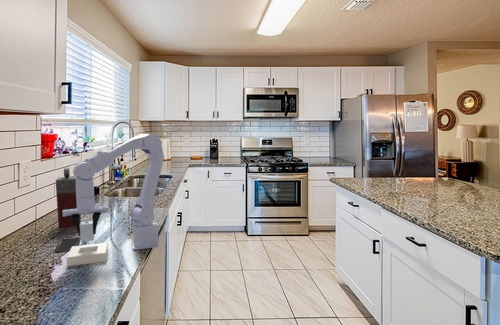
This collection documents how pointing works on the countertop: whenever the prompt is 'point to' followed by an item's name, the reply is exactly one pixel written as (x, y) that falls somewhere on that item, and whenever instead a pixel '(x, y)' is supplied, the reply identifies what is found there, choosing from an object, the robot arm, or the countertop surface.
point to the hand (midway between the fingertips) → (87, 234)
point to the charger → (86, 231)
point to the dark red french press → (66, 198)
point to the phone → (67, 244)
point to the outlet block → (87, 254)
